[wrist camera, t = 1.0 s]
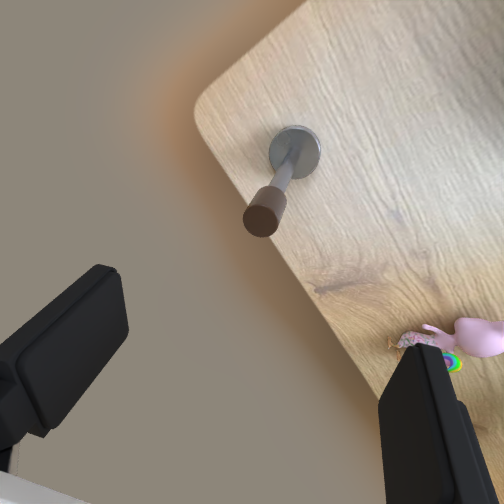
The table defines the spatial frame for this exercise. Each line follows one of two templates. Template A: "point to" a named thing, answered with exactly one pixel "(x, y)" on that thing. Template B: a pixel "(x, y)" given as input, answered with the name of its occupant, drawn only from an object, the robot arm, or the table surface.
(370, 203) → the table surface
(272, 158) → the wood-topped metal stand
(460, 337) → the rabbit figure
